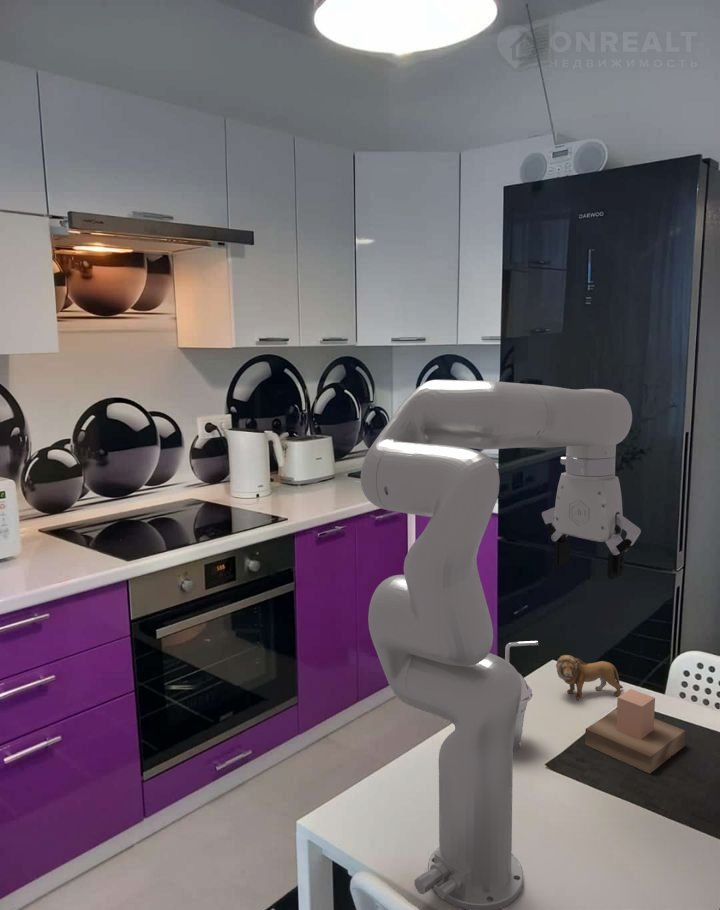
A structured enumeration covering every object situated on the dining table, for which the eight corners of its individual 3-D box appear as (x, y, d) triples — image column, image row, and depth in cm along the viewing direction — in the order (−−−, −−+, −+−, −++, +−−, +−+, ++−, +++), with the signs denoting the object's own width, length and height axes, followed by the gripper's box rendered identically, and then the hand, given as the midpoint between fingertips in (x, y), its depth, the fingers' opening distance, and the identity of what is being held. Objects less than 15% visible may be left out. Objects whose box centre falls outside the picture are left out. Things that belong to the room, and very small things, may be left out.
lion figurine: (563, 706, 144) (564, 662, 142) (549, 693, 149) (550, 651, 148) (629, 695, 148) (631, 652, 146) (614, 683, 153) (615, 642, 151)
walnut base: (649, 773, 121) (650, 756, 121) (585, 744, 130) (585, 728, 130) (684, 746, 129) (685, 730, 129) (621, 720, 138) (621, 705, 138)
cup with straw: (500, 727, 137) (501, 624, 134) (543, 745, 130) (545, 637, 127) (472, 745, 131) (473, 638, 128) (516, 765, 124) (518, 653, 121)
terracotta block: (640, 739, 126) (642, 706, 125) (616, 729, 129) (617, 697, 128) (653, 729, 129) (655, 697, 128) (629, 720, 132) (630, 688, 131)
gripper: (531, 463, 122) (529, 563, 125) (628, 477, 109) (624, 588, 112) (557, 458, 127) (555, 554, 130) (653, 470, 114) (649, 576, 117)
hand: (587, 569), depth 121 cm, fingers open, 9 cm apart
